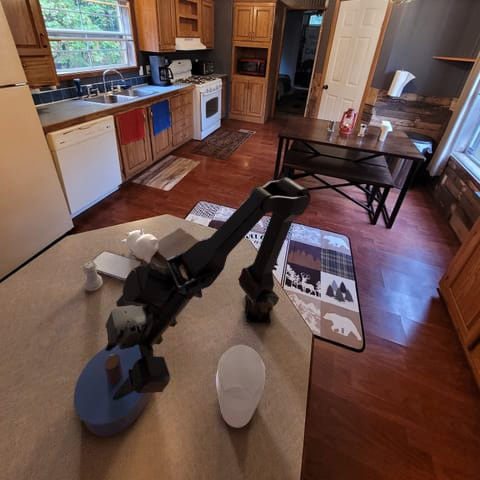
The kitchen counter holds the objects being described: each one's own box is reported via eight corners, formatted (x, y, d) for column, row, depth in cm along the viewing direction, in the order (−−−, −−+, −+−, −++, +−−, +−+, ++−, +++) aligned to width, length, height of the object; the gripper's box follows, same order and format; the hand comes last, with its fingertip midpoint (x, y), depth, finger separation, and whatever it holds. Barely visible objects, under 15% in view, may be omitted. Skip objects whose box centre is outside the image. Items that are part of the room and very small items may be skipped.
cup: (256, 443, 46) (263, 408, 41) (208, 428, 47) (210, 393, 42) (262, 385, 54) (268, 350, 49) (221, 373, 55) (223, 338, 51)
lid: (160, 343, 56) (158, 325, 54) (139, 427, 43) (136, 408, 41) (97, 342, 55) (92, 324, 53) (57, 427, 43) (49, 408, 40)
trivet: (204, 249, 89) (204, 244, 88) (174, 271, 80) (174, 265, 79) (180, 232, 96) (180, 227, 95) (150, 251, 87) (149, 245, 86)
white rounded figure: (125, 224, 84) (149, 238, 78) (148, 225, 93) (172, 237, 87) (115, 250, 83) (139, 266, 77) (140, 248, 92) (163, 262, 86)
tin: (158, 358, 57) (157, 344, 55) (139, 436, 46) (137, 421, 44) (101, 357, 56) (98, 343, 55) (67, 436, 45) (62, 422, 43)
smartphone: (104, 250, 84) (142, 262, 81) (104, 253, 85) (142, 264, 81) (85, 266, 78) (126, 279, 74) (86, 269, 78) (127, 282, 75)
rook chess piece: (81, 288, 72) (76, 267, 69) (95, 276, 76) (90, 256, 73) (93, 294, 70) (88, 273, 67) (106, 282, 74) (102, 261, 71)
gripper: (122, 262, 51) (68, 325, 50) (146, 348, 37) (70, 439, 36) (163, 276, 58) (116, 331, 57) (195, 352, 44) (134, 428, 43)
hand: (110, 372), depth 48 cm, fingers open, 9 cm apart
